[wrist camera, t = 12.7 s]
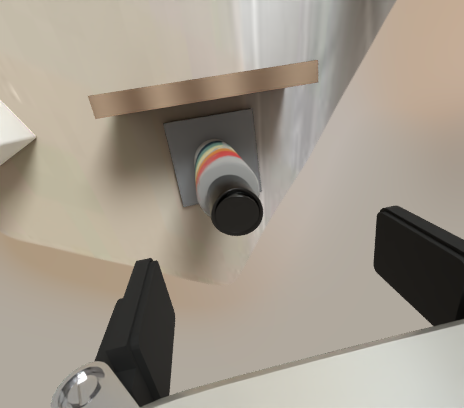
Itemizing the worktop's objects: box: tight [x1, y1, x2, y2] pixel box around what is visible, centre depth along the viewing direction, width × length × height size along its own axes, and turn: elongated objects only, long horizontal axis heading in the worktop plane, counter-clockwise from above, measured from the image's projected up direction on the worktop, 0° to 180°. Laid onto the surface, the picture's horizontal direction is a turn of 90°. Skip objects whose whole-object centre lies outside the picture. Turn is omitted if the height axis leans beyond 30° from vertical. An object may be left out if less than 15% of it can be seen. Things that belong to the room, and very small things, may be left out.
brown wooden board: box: [88, 60, 318, 119], centre depth 29 cm, size 22×2×10 cm, turn 99°
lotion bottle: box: [194, 139, 263, 236], centre depth 27 cm, size 6×6×20 cm
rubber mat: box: [163, 109, 262, 207], centre depth 37 cm, size 12×12×1 cm
